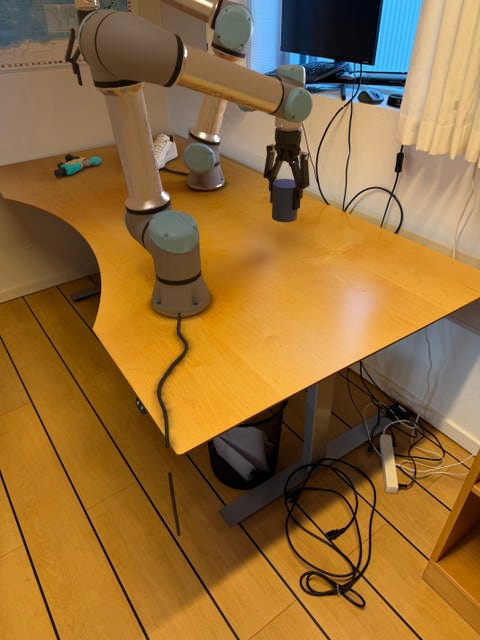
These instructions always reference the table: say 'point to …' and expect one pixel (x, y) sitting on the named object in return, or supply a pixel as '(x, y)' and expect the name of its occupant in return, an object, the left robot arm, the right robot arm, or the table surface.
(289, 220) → the can
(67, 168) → the toy gun
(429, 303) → the table surface
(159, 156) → the sneaker
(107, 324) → the table surface
